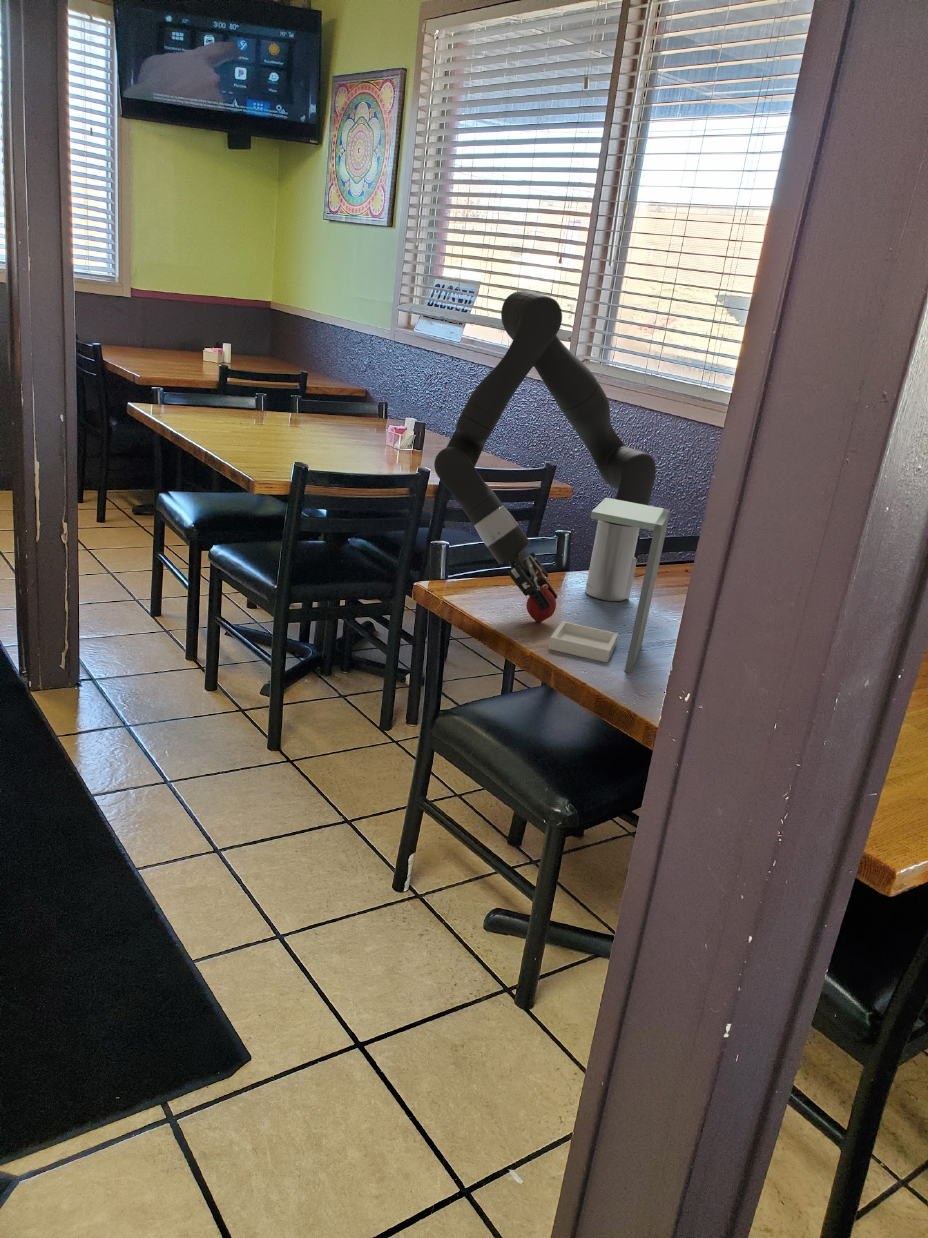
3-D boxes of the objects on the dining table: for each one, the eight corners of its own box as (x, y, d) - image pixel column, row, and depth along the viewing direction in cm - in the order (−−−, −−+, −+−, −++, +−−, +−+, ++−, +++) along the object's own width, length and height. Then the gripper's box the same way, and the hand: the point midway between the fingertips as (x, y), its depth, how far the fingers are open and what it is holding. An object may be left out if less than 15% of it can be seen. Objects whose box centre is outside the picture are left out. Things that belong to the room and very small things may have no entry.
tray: (548, 648, 172) (550, 637, 171) (560, 631, 182) (562, 620, 181) (607, 662, 169) (609, 650, 168) (616, 644, 179) (618, 633, 178)
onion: (544, 630, 182) (551, 591, 179) (518, 621, 184) (525, 583, 182) (557, 623, 186) (564, 585, 184) (532, 615, 189) (538, 578, 186)
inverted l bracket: (564, 657, 169) (591, 511, 160) (580, 632, 183) (605, 497, 175) (631, 672, 166) (662, 525, 157) (641, 646, 180) (670, 509, 172)
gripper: (507, 530, 174) (558, 604, 175) (525, 517, 188) (572, 585, 189) (476, 552, 177) (527, 624, 178) (496, 537, 191) (543, 604, 192)
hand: (550, 604), depth 184 cm, fingers closed on onion, 6 cm apart
